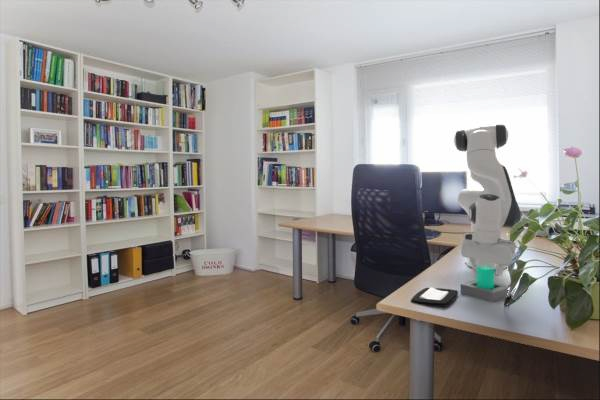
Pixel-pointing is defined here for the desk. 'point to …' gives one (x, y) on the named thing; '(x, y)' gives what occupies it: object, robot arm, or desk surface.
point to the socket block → (484, 291)
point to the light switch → (435, 296)
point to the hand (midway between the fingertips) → (486, 272)
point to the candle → (485, 277)
